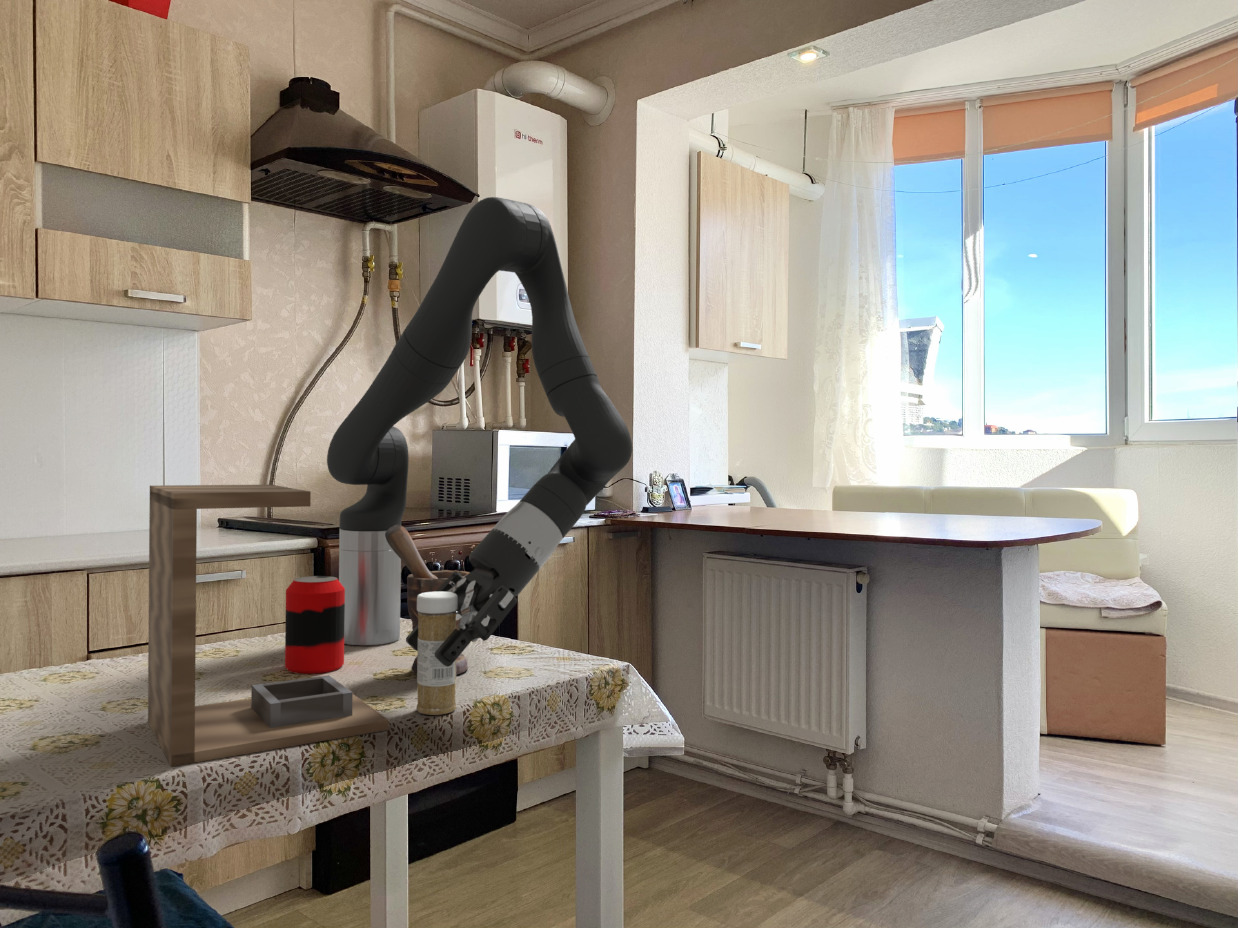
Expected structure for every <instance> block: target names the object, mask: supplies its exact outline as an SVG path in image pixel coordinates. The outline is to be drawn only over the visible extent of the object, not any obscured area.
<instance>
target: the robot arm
mask: <svg viewBox="0 0 1238 928" xmlns="http://www.w3.org/2000/svg"><path fill="white" fill-rule="evenodd" d="M559 255H560V253H559V250H558V246H557V241H556V238H555V235H554V232H553V228H552V225H551V223H550V221H549V219H548V217H547V216H546V214H545V213H544V212H543V211H542V210H541V209H540V208H538V207H537V206H535V205H532V204H529V203H526V202H522V201H519V200H518V201H517V200H513V199H509V198H504V197H499V196H498V197H497V196H492V197H491V196H490V197H485V198H483V199H480V200H479V201H477V202H476V203H475V204H474V205H473V206H472V207H471V208H470V209H469V211H468V212H467V213H466V215H465V217H464V219H463V220H462V222H461V225H460V227H459V229H458V230H457V233H456V235H455V237H454V239H453V241H452V243H451V245H450V247H449V249H448V252H447V253H446V257H445V259H444V261H443V262H442V265H441V267H440V269H439V271H438V273H437V274H436V277H435V279H434V280H433V283H432V284H431V285H430V287H429V289H428V291H427V292H426V294H425V296H424V298H423V300H422V302H421V303H420V305H419V307H418V309H417V310H416V312H415V313H414V315H413V317H412V318H411V320H410V321H409V322H408V323H407V325H406V327H405V329H404V330H403V331H402V332H401V335H400V336H399V338H398V340H397V342H396V343H395V345H394V346H393V349H392V350H391V352H390V354H389V356H388V357H387V359H386V361H385V363H384V364H383V366H382V367H381V369H380V370H379V372H378V374H377V375H376V376H375V378H374V380H373V381H372V383H371V384H370V385H369V387H368V389H367V390H366V391H365V393H364V394H363V396H362V397H361V399H360V400H359V401H358V402H357V404H356V405H355V406H354V408H352V410H351V411H350V412H349V413H348V414H347V416H346V417H345V418H344V420H343V421H342V422H341V424H340V425H339V426H338V428H337V429H336V431H335V432H334V434H333V436H332V438H331V440H330V443H329V446H328V449H327V453H326V454H327V455H326V465H327V469H328V473H329V474H330V475H331V477H332V478H333V479H334V480H336V481H337V482H338V483H341V484H345V485H352V486H358V485H359V486H363V485H364V486H367V487H366V492H365V494H364V495H363V496H362V497H361V499H359V501H357V502H355V503H354V504H352V505H349V506H348V507H345V508H344V509H342V510H341V512H340V514H339V525H338V526H339V542H338V546H339V547H338V548H339V549H338V550H339V551H338V556H339V558H338V559H339V561H338V570H339V571H338V580H339V582H340V583H341V584H342V585H343V587H344V588H345V622H344V645H352V646H375V645H377V646H378V645H385V644H390V643H393V642H394V643H395V642H396V641H398V640H400V637H401V588H402V587H401V581H402V580H401V577H402V576H401V574H402V573H401V572H402V560H401V559H400V558H399V557H398V555H397V554H396V553H395V552H394V551H393V549H392V548H391V547H390V545H389V544H388V542H387V540H386V537H385V532H386V531H387V530H388V529H389V528H390V527H393V526H395V525H401V526H402V520H403V515H404V513H405V509H406V505H407V493H408V491H407V489H408V479H409V477H408V476H409V460H410V459H409V456H410V455H409V447H408V442H407V439H406V437H405V435H404V433H403V432H402V431H401V429H399V428H397V427H395V425H396V424H397V423H399V422H400V421H401V420H402V419H404V418H406V416H408V415H410V414H412V413H413V412H415V411H416V410H418V409H420V408H421V407H422V406H424V405H425V404H427V403H428V402H430V401H431V400H433V399H434V398H435V397H437V396H438V395H439V394H440V393H442V392H443V391H445V389H446V388H447V386H448V385H449V384H450V382H451V381H452V380H453V378H454V377H455V375H456V373H457V372H458V371H459V370H460V368H461V366H462V365H463V363H464V362H465V360H466V358H467V356H468V354H469V352H470V349H471V344H472V333H473V332H472V331H473V330H472V328H473V327H472V326H473V325H472V324H473V311H474V308H475V305H476V303H477V301H478V299H479V297H480V296H481V295H482V292H483V291H484V289H485V288H486V286H487V284H488V283H490V281H491V279H492V278H493V277H494V275H496V274H497V273H499V272H509V273H515V275H516V276H517V278H518V281H520V283H521V285H522V287H523V289H524V291H525V293H526V295H527V298H528V301H529V305H530V310H531V317H532V318H531V353H532V359H533V363H534V367H535V370H536V373H537V376H538V378H539V381H540V383H541V385H542V388H543V391H544V392H545V395H546V397H547V400H548V402H549V404H550V407H551V408H552V410H553V411H554V413H555V414H556V415H558V416H560V417H563V418H565V421H566V422H567V423H568V426H569V428H570V431H571V432H572V434H573V437H574V440H573V441H572V442H571V443H570V445H569V446H568V447H567V448H566V449H565V450H564V452H563V453H562V454H561V456H560V457H559V458H558V460H556V462H555V463H554V464H553V466H552V467H551V468H550V469H549V471H548V472H547V473H546V474H543V476H541V478H539V480H537V481H536V482H535V483H534V484H533V486H532V487H531V488H530V489H529V490H528V491H527V492H526V494H524V496H523V497H522V498H521V499H519V502H517V503H516V504H515V505H514V506H513V507H512V508H511V509H509V510H508V511H507V512H506V513H505V514H504V515H502V517H501V518H500V520H499V521H498V522H497V523H496V524H495V525H494V526H493V527H492V529H491V530H490V531H489V532H488V533H487V534H486V535H485V537H484V538H483V539H482V540H481V541H480V542H479V543H478V544H477V546H476V547H475V548H474V549H472V551H471V552H470V554H469V562H470V564H471V565H472V570H471V571H469V572H470V573H469V574H468V575H466V576H465V577H464V578H463V577H462V576H461V575H460V574H459V573H458V572H457V571H458V570H457V571H455V572H454V573H452V574H451V576H450V577H449V578H448V579H447V580H446V581H445V582H444V583H443V584H442V585H441V586H440V587H439V588H438V590H437V591H443V592H452V593H455V594H457V597H458V609H457V610H456V611H457V614H456V620H459V619H460V618H461V620H460V623H459V625H458V628H459V629H460V630H457V629H455V630H454V631H453V632H452V633H451V634H450V635H449V637H448V638H447V639H446V640H445V641H444V642H443V644H442V645H441V646H440V647H439V648H438V649H437V651H436V652H435V657H436V658H437V659H438V660H439V661H440V662H441V663H442V664H443V665H445V666H447V667H449V666H451V665H452V664H453V662H454V661H455V660H456V659H457V658H458V657H459V655H460V654H463V652H464V650H465V649H466V648H467V647H468V646H469V644H470V643H471V642H472V643H475V642H477V641H478V640H479V639H481V640H482V641H483V642H485V641H487V640H488V639H489V638H491V636H492V635H493V634H494V632H495V631H496V630H497V628H498V627H499V626H500V625H501V623H502V622H503V621H504V619H506V617H507V615H508V614H509V613H510V612H511V611H512V609H513V608H514V607H515V605H516V604H517V603H518V599H517V598H516V597H517V596H519V595H520V593H522V591H523V590H524V589H525V587H527V585H528V584H529V583H530V581H531V580H533V578H534V577H535V575H537V573H538V572H539V571H540V570H541V569H542V567H543V566H544V564H546V562H548V560H549V559H550V557H552V556H553V554H554V552H555V551H556V549H557V548H558V546H559V545H560V543H561V541H562V540H563V539H564V538H565V537H566V536H567V535H568V533H569V532H570V531H571V530H572V528H573V527H574V526H575V524H576V523H578V522H579V520H580V518H582V516H583V514H584V512H586V509H587V506H588V505H589V503H591V502H592V501H593V499H595V497H596V496H597V495H598V494H599V493H600V491H602V489H604V487H605V486H606V485H607V484H609V482H610V481H611V480H612V479H613V478H614V477H615V476H616V475H617V474H619V472H621V471H622V470H623V469H624V468H625V467H626V466H627V465H628V463H629V462H630V460H631V457H632V454H633V442H632V438H631V434H630V432H629V431H630V430H629V429H628V425H626V422H625V420H624V419H623V417H622V415H621V414H620V412H619V410H618V409H617V407H616V406H615V404H614V403H613V402H612V400H611V399H610V397H609V396H608V394H607V393H606V392H605V391H604V389H603V388H602V386H601V383H600V381H599V378H598V375H597V372H596V370H595V367H594V365H593V363H592V360H591V358H590V356H589V353H588V351H587V348H586V346H585V343H584V342H583V341H584V340H583V338H582V335H581V333H580V330H579V327H578V325H577V322H576V321H577V320H576V319H575V316H574V311H573V308H572V307H573V306H572V303H571V299H570V297H569V291H568V287H567V284H566V280H565V277H564V272H563V268H562V264H561V259H560V256H559ZM437 591H436V592H437ZM405 641H406V644H408V646H410V647H411V648H412V649H413V650H414V651H417V652H418V625H417V626H416V627H415V628H414V630H413V629H412V630H411V632H410V633H409V634H408V635H407V636H406V639H405Z"/></svg>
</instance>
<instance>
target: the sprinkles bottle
mask: <svg viewBox="0 0 1238 928" xmlns="http://www.w3.org/2000/svg"><path fill="white" fill-rule="evenodd" d="M457 609H458V597H457V594H455V593H452V592H443V591H437V592H425V593H421V594H419V595H418V596H417V611H418V651H417V656H418V659H417V677H416V683H417V704H416V708H415V709H416V711H417V712H419V714H423V715H429V716H441V715H442V716H443V715H446V714H450V713H453V712H454V711H455V710H456V709H457V702H456V679H457V674H456V660H455V661H454V662H453V664H452V665H451V666H449V667H447V666H445V665H443V664H442V663H441V662H440V661H439V660H438V659H437V658H436V657H435V652H436V651H437V649H438V648H439V647H440V646H441V645H442V644H443V642H444V641H445V640H446V639H447V638H448V637H449V635H450V634H451V633H452V632H453V631H454V630H455V629H456V614H457V611H456V610H457Z"/></svg>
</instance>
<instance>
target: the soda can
mask: <svg viewBox="0 0 1238 928" xmlns="http://www.w3.org/2000/svg"><path fill="white" fill-rule="evenodd" d="M344 622H345V588H344V587H343V585H342V584H341V583H340V582H339V577H337V576H336V577H335V576H330V575H329V576H328V575H312V576H310V575H309V576H302V577H301V576H300V577H296V578H293V580H292V582H291V583H290V584H289V585H288V587H287V588H286V589H285V633H284V635H285V638H284V642H285V643H284V644H285V645H284V667H285V669H286V670H287V671H288V672H290V673H295V674H301V675H302V674H303V675H305V674H306V675H315V674H326V673H330V672H333V671H338V670H339V669H341V668H342V666H343V665H344V664H345V644H344Z"/></svg>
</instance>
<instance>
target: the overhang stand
mask: <svg viewBox="0 0 1238 928" xmlns="http://www.w3.org/2000/svg"><path fill="white" fill-rule="evenodd" d="M311 499H312V498H311V491H310V490H303V489H297V488H294V487H288V486H282V485H281V486H280V485H275V484H188V485H187V484H185V485H183V484H182V485H181V484H179V485H177V484H176V485H170V484H168V485H166V484H165V485H160V484H159V485H149V512H148V513H149V516H148V517H149V519H148V520H149V522H148V523H149V529H148V530H149V531H148V532H149V533H148V536H149V538H148V539H149V540H148V541H149V542H148V543H149V544H148V546H149V547H148V549H149V551H148V639H147V640H148V648H147V652H148V653H147V656H148V658H147V659H148V662H147V663H148V664H147V665H148V666H147V668H148V669H147V672H148V673H147V683H148V684H147V723H148V725H149V727H150V729H151V731H152V732H153V735H154V737H155V739H156V740H157V743H158V744H159V746H160V748H161V750H162V752H163V753H164V756H165V758H166V759H167V761H168V764H169V766H171V767H175V766H177V767H178V766H181V765H187V764H194V763H199V762H200V763H201V762H206V761H212V760H217V759H223V758H230V757H235V756H236V757H237V756H242V755H247V754H252V753H258V752H260V753H261V752H264V751H271V750H277V749H283V748H289V747H295V746H300V745H301V746H302V745H306V744H313V743H319V742H325V741H329V740H330V741H331V740H336V739H341V738H349V737H353V736H360V735H367V734H370V733H371V734H372V733H378V732H383V731H389V730H390V719H388V718H387V717H386V716H384V715H382V713H380V712H378V711H377V710H375V708H373V707H372V706H370V705H369V704H368V703H366V702H365V701H363V700H362V699H360V698H359V697H358V696H357V695H355V694H354V692H353V691H352V690H350V689H349V688H347V687H346V686H344V685H343V684H342V683H340V682H339V681H338V680H336V679H335V678H334V677H332V676H331V675H329V674H327V675H320V676H315V677H314V676H312V677H305V678H298V679H297V678H296V679H291V680H281V681H275V682H274V681H273V682H267V683H257V684H251V689H250V690H251V698H246V699H238V700H231V701H223V702H216V703H209V704H202V705H201V704H200V705H196V656H197V655H196V648H197V646H196V641H197V639H196V636H197V635H196V632H197V631H196V629H197V624H196V623H197V619H196V618H197V538H198V537H197V536H198V534H197V533H198V532H197V531H198V529H197V527H198V526H197V525H198V520H197V518H198V516H197V514H198V510H211V509H215V510H216V509H252V508H253V509H254V508H257V509H259V508H293V507H294V508H297V507H301V508H302V507H304V508H305V507H311Z"/></svg>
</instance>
